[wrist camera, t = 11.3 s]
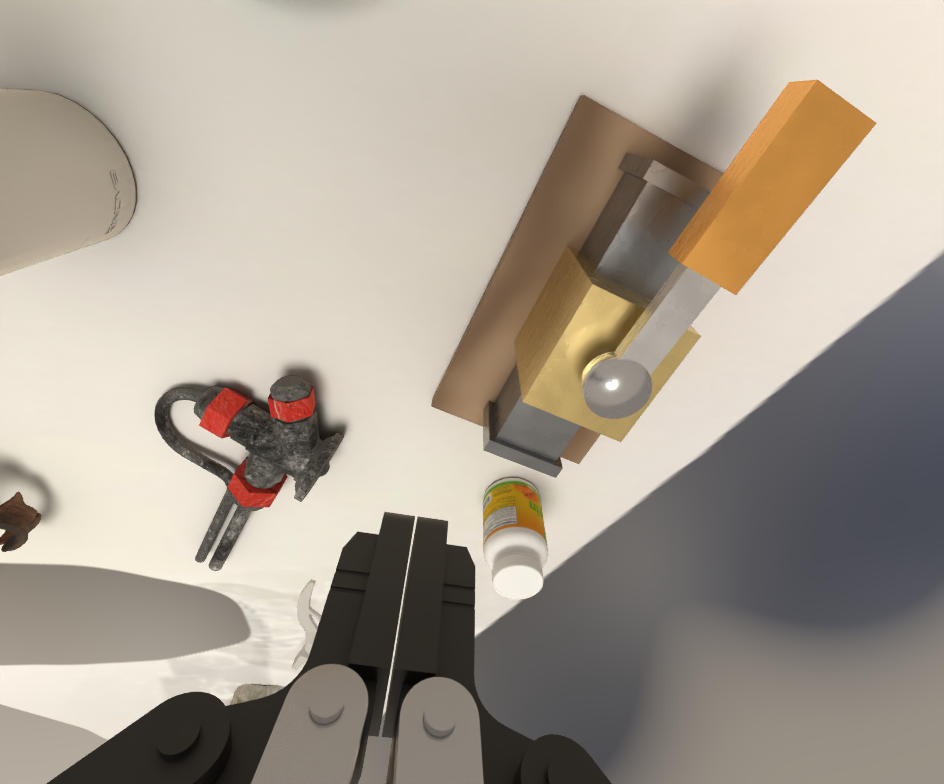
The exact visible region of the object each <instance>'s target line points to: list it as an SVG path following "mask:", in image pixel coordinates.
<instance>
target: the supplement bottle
mask: <svg viewBox="0 0 944 784" xmlns="http://www.w3.org/2000/svg"><path fill="white" fill-rule="evenodd" d="M483 550H484V558H485V561H486V564H487V565H488V567H489V568H490V569H491V570H492V579H493V586H494V589H495V590H496V591H497V593H499V594H500V595H502V596H503V597H506V598H509V599H525V598H529V597H531V596H533V595H535V594H536V593H538V592H539V591H540V589H541V588H542V586H543V573H542V568H543V566H544V565H545V563H546V561H547V557H548V548H547V541H546V534H545V528H544V521H543V514H542V508H541V501H540V496H539V493H538V491H537V489H536V488H535V487H534V486H533V485H532V484H531V483H529V482H528V481H526V480H523V479H519V478H505V479H502V480H499V481H497V482H495V483H493V484H492V485H491V486H490V487H489V488H488V489H487V491H486V492H485V495H484V500H483Z"/></svg>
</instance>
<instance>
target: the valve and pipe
mask: <svg viewBox="0 0 944 784" xmlns="http://www.w3.org/2000/svg"><path fill="white" fill-rule="evenodd" d="M618 168H619V169H621V170H623V171H624V174H623V175H622V177H621V179H620V181H619V182H618V184H617V186H616V188H615V189H614V191H613V193H612V195H611V197H610V198H609V200H608V202H607V204H606V205H605V207H604V209H603V211H602V212H601V214H600V216H599V218H598V220H597V221H596V223H595V225H594V227H593V228H592V230H591V232H590V234H589V235H588V237H587V239H586V241H585V243H584V244H583V246H582V248H581V250H580V251H579V250H577V249H575V248H573V247H571V246H569V245H567V246H566V248H565V249H564V251H563V253H562V255H561V257H560V259H559V260H558V262H557V264H556V266H555V268H554V270H553V271H552V273H551V275H550V277H549V279H548V280H547V282H546V284H545V286H544V288H543V290H542V291H541V293H540V295H539V297H538V299H537V300H536V302H535V304H534V306H533V308H532V310H531V311H530V313H529V315H528V317H527V319H526V321H525V322H524V324H523V326H522V328H521V330H520V331H519V333H518V335H517V337H516V339H515V341H514V347H515V354H516V361H517V363H516V365H515V366H514V368H513V370H512V372H511V373H510V375H509V377H508V379H507V381H506V382H505V384H504V386H503V388H502V389H501V391H500V393H499V395H498V396H497V398H496V400H495V402H491V401H489V400H488V402H487V404H486V406H485V408H484V409H483V445H484V451H487V452H490V453H492V454H495V455H497V456H500V457H503V458H505V459H508V460H511V461H513V462H516V463H518V464H521V465H524V466H526V467H529V468H532V469H534V470H537V471H539V472H542V473H545V474H547V475H550V476H553V477H555V478H556V477H557V476H558V474H559V473H560V471H561V470H562V463H561V459H560V455H561V454H562V452H563V451H564V449H565V448H566V446H567V445H568V443H569V442H570V440H571V439H572V438H573V436H574V435H575V433H576V432H577V430H578V429H579V427H580V426H583V427H585V428H588V429H590V430H592V431H595V432H597V433H600V434H602V435H605V436H607V437H610V438H612V439H614V440H617V441H619V442H621V441H622V440H623V439H624V437H625V436H626V435H627V433H628V432H629V431H630V429H631V428H632V427H633V425H634V424H635V423H636V421H637V420H638V419H639V417H640V416H641V415H642V414H643V412H644V411H645V410H646V408H647V407H648V406H649V404H650V403H651V402H652V400H653V399H654V398H655V396H656V395H657V394H658V392H659V391H660V390H661V388H662V387H663V386H664V384H665V383H666V382H667V380H668V379H669V378H670V377H671V375H672V374H673V373H674V371H675V370H676V369H677V367H678V366H679V365H680V363H681V362H682V361H683V359H684V358H685V357H686V355H687V354H688V353H689V351H690V350H691V349H692V347H693V346H694V345H695V343H696V342H697V341H698V339H699V338H700V337H701V336H700V335H699V334H698V333H697V332H696V331H695V329H694V328H693V327H692V326H691V325H690V326H689V328H688V329H687V330H686V331H685V333H684V334H683V335H682V336H681V338H680V339H679V340H678V341H677V343H676V344H675V345H674V346H673V348H672V349H671V350H670V351H669V353H668V354H667V355H666V356H665V358H664V359H663V360H662V361H661V363H660V364H659V365H658V366H657V368H656V369H655V370H654V372H653V373H652V374H651V375H650V377H651V380H652V392H651V395H650V398H649V400H648V401H647V403H646V404H645V405H644V406H643V407H642V408H641V409H640V410H639V411H637V412H636V413H634V414H632V415H630V416H628V417H625V418H620V419H608V418H603V417H600V416H598V415H596V414H595V413H594V412H592V411H591V410H590V409H589V407H588V406H587V404H586V401H585V398H584V396H583V393H582V390H581V385H580V381H581V376H582V373H583V371H584V369H585V368H586V366H587V365H588V364H589V363H590V362H591V361H592V360H593V359H594V358H596V357H598V356H599V355H601V354H604V353H607V352H611V351H615V350H616V349H617V348H618V346H619V345H620V344H621V342H622V341H623V339H624V338H625V337H626V335H627V334H628V333H629V331H630V330H631V328H632V327H633V326H634V324H635V323H636V322H637V320H638V319H639V318H640V316H641V315H642V313H643V312H644V311H645V309H646V308H647V307H648V305H649V304H650V303H651V301H652V300H653V298H654V297H655V296H656V294H657V293H658V292H659V290H660V289H661V288H662V286H663V285H664V283H665V282H666V281H667V279H668V278H669V277H670V275H671V274H672V272H673V271H674V270H675V268H676V267H677V266H678V264H679V263H680V262H679V261H677V260H676V259H675V258H673V257H672V256H671V255H670V254H668V251H669V250H670V249H671V247H672V246H673V244H674V243H675V242H676V240H677V239H678V237H679V236H680V235H681V233H682V232H683V230H684V229H685V228H686V226H687V225H688V223H689V222H690V221H691V219H692V218H693V216H694V215H695V214H696V212H697V211H698V209H699V208H700V207H701V205H702V204H703V202H704V201H705V200H706V198H707V197H708V195H709V194H710V192H711V191H709V190H708V189H706V188H704V187H702V186H700V185H699V184H697V183H695V182H693V181H691V180H690V179H688V178H686V177H684V176H682V175H680V174H679V173H677V172H675V171H673V170H671V169H670V168H668V167H666V166H664V165H662V164H661V163H659V162H657V161H655V160H653V159H649V158H646V157H642V156H639V155H635V154H632V153H628V152H627V153H626V154H625V156H624V158H623V160H622V162H621V163H620V165H619V167H618Z"/></svg>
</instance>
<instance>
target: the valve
mask: <svg viewBox="0 0 944 784" xmlns="http://www.w3.org/2000/svg"><path fill="white" fill-rule="evenodd" d="M270 392H271V393H270V395H269V397H268V403H269V408H270V414H269V413H268V412H266V411H264V410H263V409H261V408H259V407H258V406H256V405H254V404H252V402H253V400H252V399H250V398H248V397H247V396H245V395H243V394H241V393H239V392H238V391H236V390H234V389H232V388H226V387H225V388H221V387H217V386H212V387H210V388H208V389H207V390H206V391H205V392H201V391H198V390H195V389H189V388H178V389H173V390H171V391H169V392H167V393H165V394H164V395H163V396H162V397H161V398H160V399H159V400H158V402H157V404H156V407H155V423H156V426H157V428H158V431H159V433H160V434H161V436H162V438H163V439H164V440H165V442H166V443H167V444H168V445H169V446H170V447H171V448H172V449H173V450H174V451H175V452H177V453H178V454H180V455H181V456H183V457H184V458H186V459H188V460H190V461H191V462H193V463H195V464H197V465H199V466H200V467H202V468H204V469H206V470H207V471H209V472H211V473H213V474H214V475H216V476H218V477H219V478H221V479H222V480H223V481H224V482H225V484H226V486H227V491H226V493H225V495H224V497H223V499H222V501H221V504H220V506H219V508H218V510H217V512H216V514H215V516H214V518H213V521H212V523H211V525H210V527H209V529H208V531H207V533H206V536H205V538H204V540H203V542H202V544H201V546H200V548H199V550H198V553H197V555H196V557H195V560H196V561H197V562H200V563H201V562H204V561H205V559H206V557H207V555H208V553H209V551H210V549H211V547H212V545H213V543H214V541H215V539H216V537H217V535H218V533H219V531H220V529H221V527H222V525H223V523H224V521H225V519H226V517H227V515H228V513H229V510H230V508H231V506H232V504H233V502H235V504H236V505H237V506H238V507H237V509H236V511H235V513H234V515H233V517H232V519H231V521H230V523H229V525H228V527H227V529H226V531H225V533H224V535H223V537H222V539H221V541H220V543H219V545H218V547H217V549H216V551H215V553H214V555H213V557H212V559H211V561H210V563H209V568H210V569H211V570H213V571H218V570H220V569H221V568H222V566H223V564H224V562H225V561H226V559H227V557H228V555H229V553H230V551H231V549H232V547H233V545H234V544H235V542H236V540H237V538H238V536H239V534H240V532H241V530H242V528H243V527H244V525H245V523H246V521H247V519H248V517H249V515H250V513H251V511H257V510H260V509H262V508H263V507H270V505H271V504H272V502H273V501H274V499H275V498H276V496H277V494H278V493H279V491H280V490H281V488H282V486H283V484H284V482H285V480H286V479H287V476H286V474H285V473H287V474H289V475H291V476H292V477H294V480H295V481H296V483H295V491H296V494H295V496H294V498H295V499H297V500H298V501H300V502H302V501H303V499H304V498H305V497H306V495H307V494H308V493H309V491H310V490H311V488H312V487H313V485H314V484H315V482H316V481H317V480H318V478H319V477H320V476H323V475H325V474H326V473H327V472H328V470H329V468H330V465H329V461H330V460H331V458H332V456H333V455H334V453H335V451H336V450H337V448H338V446H339V445H340V443H341V442H342V440H343V438H344V436H342V435H340V434H339V433H336V434H335V435H334V436H332V437H329V438H326V439H325V440H324V441H322V440H320V438H319V429H318V420H317V411H316V410H314V408H315V405H316V402H315V395H314V387H313V386H310V384H309V382H308V381H306V380H304V379H303V378H301V377H298V376H286V377H282V378H280V379H278V380H277V381H276V382H275V383H274V384H273V385H272V386H271V388H270ZM178 400H191V401H194V402H196V404H195V406H194V413H195V414H196V415H197V416H198V417H199V418H200V419H201V422H200V424H199V426H201V427H203V428H204V429H206V430H208V431H210V432H211V433H213V434H215V435H216V436H218V437H220V438H225V437H229V436H230V438H231V439H233V440H234V441H236V442H238V443H240V444H241V445H243V446H245V449H246V450H247V451H249V452H251V453H250V455H249V457H246V459H245V460H244V461H243V462H242V464H241V465H240V466H239V468H238V469H237V470H236V471H235V473H234V474H233V473H232V472H231V471H230V470H229V469H227V468H226V467H224V466H222V465H221V464H219V463H217V462H215V461H214V460H212V459H210V458H208V457H207V456H205V455H203V454H201V453H200V452H198V451H196V450H194V449H193V448H191V447H190V446H188V445H187V444H185V443H184V442H183V441H182V440H181V439H180V438H179V437H178V436H177V435H176V434H175V432H174V431H173V429H172V427H171V426H170V423H169V420H168V409H169V407H170V406H171V404H172V403H173V402H175V401H178ZM251 404H252V405H251Z"/></svg>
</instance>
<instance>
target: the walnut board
mask: <svg viewBox="0 0 944 784" xmlns="http://www.w3.org/2000/svg"><path fill="white" fill-rule="evenodd" d="M627 152H628V153H632V154H635V155H639V156H642V157H646V158H649V159H653V160H655V161H657V162H659V163H661V164H662V165H664V166H666V167H668V168H670V169H671V170H673V171H675V172H677V173H679V174H680V175H682V176H684V177H686V178H688V179H690V180H691V181H693V182H695V183H697V184H699V185H700V186H702V187H704V188H706V189H708V190H709V191H712V190H713V188H714V187H715V185H716V184H717V183H718V181H719V180H720V178H721V177H722V176H723V173H721V172H719V171H717V170H715V169H714V168H712V167H710V166H708V165H707V164H705V163H703V162H701V161H699V160H698V159H696V158H694V157H692V156H691V155H689V154H687V153H685V152H684V151H682V150H680V149H678V148H676V147H675V146H673V145H671V144H669V143H668V142H666V141H664V140H662V139H660V138H659V137H657V136H655V135H653V134H652V133H650V132H648V131H646V130H645V129H643V128H641V127H639V126H637V125H636V124H634V123H632V122H630V121H629V120H627V119H625V118H623V117H621V116H620V115H618V114H616V113H614V112H613V111H611V110H609V109H607V108H606V107H604V106H602V105H600V104H598V103H597V102H595V101H593V100H591V99H590V98H588V97H586V96H584V95H583V96H580V98H579V100H578V102H577V104H576V106H575V108H574V110H573V112H572V114H571V116H570V118H569V120H568V122H567V124H566V126H565V129H564V131H563V133H562V135H561V137H560V139H559V141H558V143H557V145H556V147H555V149H554V151H553V153H552V155H551V157H550V159H549V161H548V163H547V165H546V167H545V170H544V172H543V174H542V176H541V178H540V180H539V182H538V184H537V186H536V188H535V190H534V192H533V194H532V196H531V198H530V200H529V202H528V204H527V206H526V208H525V210H524V213H523V215H522V217H521V219H520V221H519V223H518V225H517V227H516V229H515V231H514V233H513V235H512V237H511V239H510V241H509V243H508V245H507V247H506V249H505V251H504V254H503V256H502V258H501V260H500V262H499V264H498V266H497V268H496V270H495V272H494V274H493V276H492V278H491V280H490V282H489V284H488V286H487V288H486V290H485V292H484V294H483V297H482V299H481V301H480V303H479V305H478V307H477V309H476V311H475V313H474V315H473V317H472V319H471V321H470V323H469V325H468V327H467V329H466V331H465V333H464V335H463V338H462V340H461V342H460V344H459V346H458V348H457V350H456V352H455V354H454V356H453V358H452V360H451V362H450V364H449V366H448V368H447V370H446V372H445V374H444V376H443V379H442V381H441V383H440V385H439V387H438V389H437V391H436V393H435V395H434V397H433V399H432V405H431V406H432V407H434V408H437V409H439V410H442V411H445V412H447V413H450V414H452V415H455V416H457V417H460V418H462V419H465V420H468V421H470V422H473V423H475V424H478V425H480V426H483V409H484V408H485V406H486V404H487V402H488V400H489V401H491V402H495V400H496V398H497V396H498V395H499V393H500V391H501V389H502V388H503V386H504V384H505V382H506V381H507V379H508V377H509V375H510V373H511V372H512V370H513V368H514V366H515V365H516V363H517V361H516V354H515V347H514V341H515V339H516V337H517V335H518V333H519V331H520V330H521V328H522V326H523V324H524V322H525V321H526V319H527V317H528V315H529V313H530V311H531V310H532V308H533V306H534V304H535V302H536V300H537V299H538V297H539V295H540V293H541V291H542V290H543V288H544V286H545V284H546V282H547V280H548V279H549V277H550V275H551V273H552V271H553V270H554V268H555V266H556V264H557V262H558V260H559V259H560V257H561V255H562V253H563V251H564V249H565V248H566V246H567V245H569V246H571V247H573V248H575V249H577V250H579V251H580V250H581V248H582V246H583V244H584V243H585V241H586V239H587V237H588V235H589V234H590V232H591V230H592V228H593V227H594V225H595V223H596V221H597V220H598V218H599V216H600V214H601V212H602V211H603V209H604V207H605V205H606V204H607V202H608V200H609V198H610V197H611V195H612V193H613V191H614V189H615V188H616V186H617V184H618V182H619V181H620V179H621V177H622V175H623V174H624V171H623V170H621V169H619V168H618V167H619V165H620V163H621V162H622V160H623V158H624V156H625V154H626V153H627ZM599 436H600V433H597V432H595V431H592V430H590V429H588V428H585V427H583V426H580V427H579V429H578V430H577V432H576V433H575V435H574V436H573V438H572V439H571V440H570V442H569V443H568V445H567V446H566V448H565V449H564V451H563V452H562V454H561V455H560V457H562V458H565V459H567V460H570V461H572V462H575V463H577V464H579V463H580V462H581V461H582V459H583V458H584V456H585V455H586V454H587V452H588V451H589V450H590V448H591V447H592V445H593V444H594V443H595V441H596V440H597V438H598V437H599Z"/></svg>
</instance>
